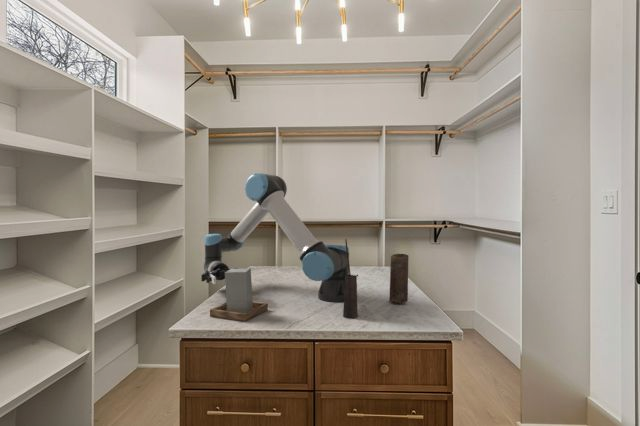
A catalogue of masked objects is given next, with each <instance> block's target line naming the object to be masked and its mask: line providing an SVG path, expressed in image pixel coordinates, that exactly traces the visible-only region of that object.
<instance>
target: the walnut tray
mask: <svg viewBox="0 0 640 426" xmlns="http://www.w3.org/2000/svg"><path fill="white" fill-rule="evenodd" d="M268 310H269V304H268V303H266V302H259V301H258V302H257V301H253V308H252V310H250V311H248V312H246V313H237V312H230V311H227V304H226V303H223V304H221V305H218V306H216V307H213V308H211V309H209V317H210V318H211V317H212V318H218V319H222V320H223V319H224V320H231V321H237V322H243V323H245V322H247V321H249V320H251V319H253V318H255V317H257V316H259V315H261V314H263V313H265V312H267V311H268Z"/></svg>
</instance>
